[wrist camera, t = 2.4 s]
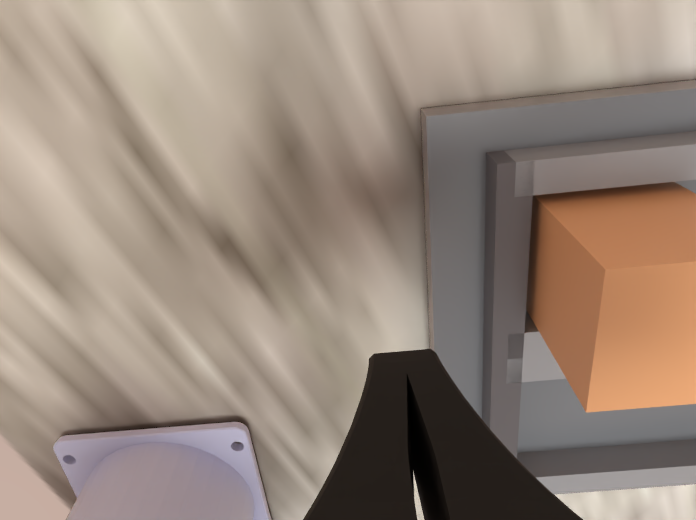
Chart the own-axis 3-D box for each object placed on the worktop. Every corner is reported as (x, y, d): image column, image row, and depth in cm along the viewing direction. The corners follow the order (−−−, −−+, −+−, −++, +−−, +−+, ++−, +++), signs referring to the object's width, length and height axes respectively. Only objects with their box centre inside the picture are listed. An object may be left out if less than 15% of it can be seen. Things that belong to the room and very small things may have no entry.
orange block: (649, 297, 17) (753, 399, 13) (525, 308, 17) (585, 412, 13) (671, 180, 15) (800, 251, 11) (532, 193, 15) (605, 269, 11)
